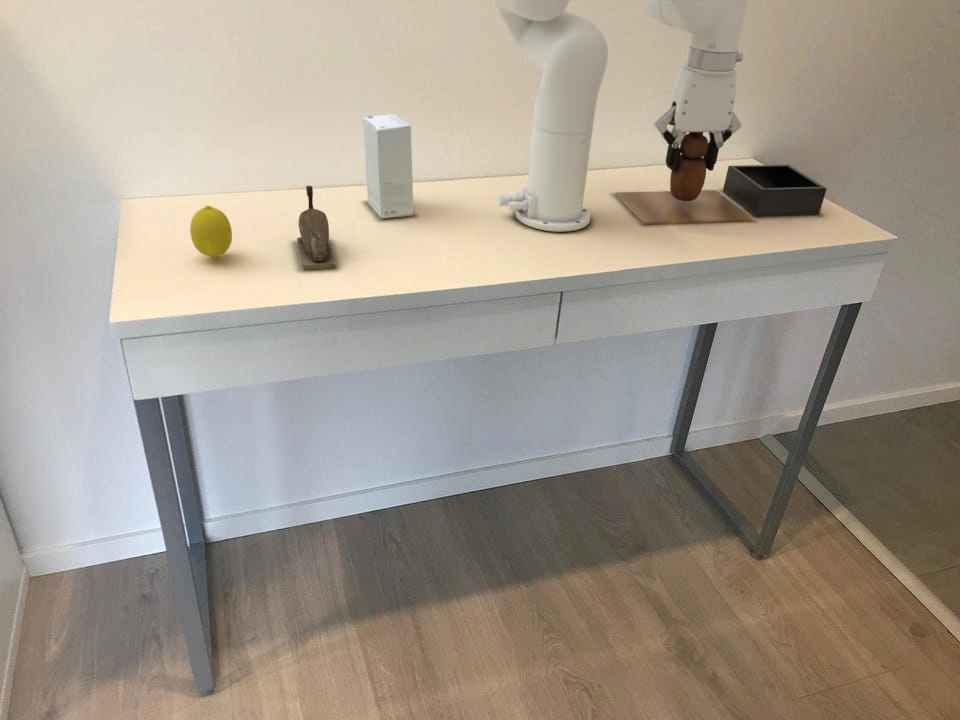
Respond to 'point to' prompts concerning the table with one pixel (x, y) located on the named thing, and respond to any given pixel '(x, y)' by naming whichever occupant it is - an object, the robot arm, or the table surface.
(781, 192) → the box
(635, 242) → the table surface
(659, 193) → the brown wooden board
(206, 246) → the lemon
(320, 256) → the figurine
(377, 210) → the cosmetic box
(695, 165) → the wooden figurine
